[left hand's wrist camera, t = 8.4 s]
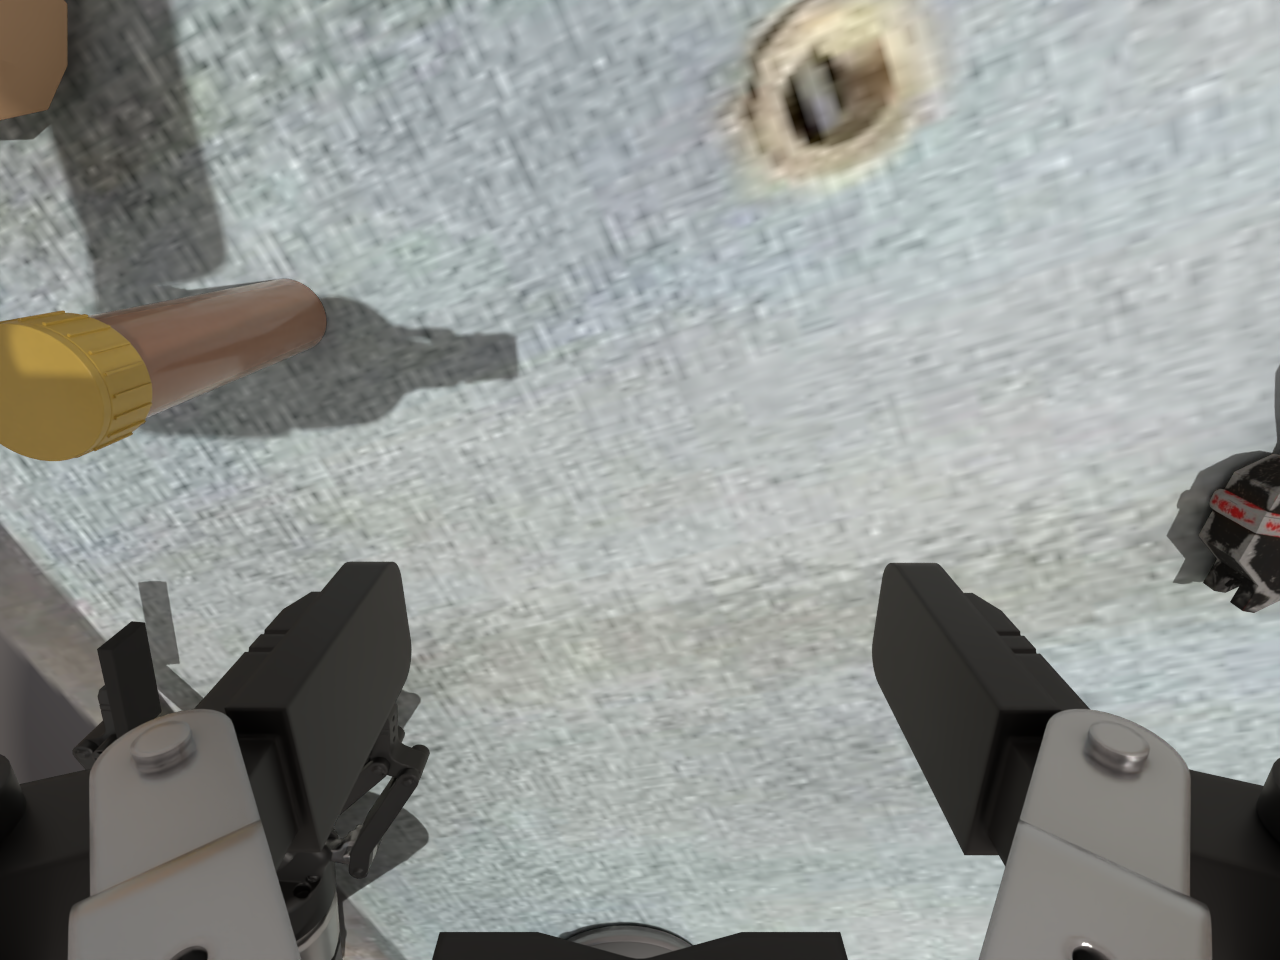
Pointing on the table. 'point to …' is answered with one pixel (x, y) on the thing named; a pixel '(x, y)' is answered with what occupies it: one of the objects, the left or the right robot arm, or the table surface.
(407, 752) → the right robot arm
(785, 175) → the table surface
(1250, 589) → the gun
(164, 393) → the jar
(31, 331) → the lid
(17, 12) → the squash
